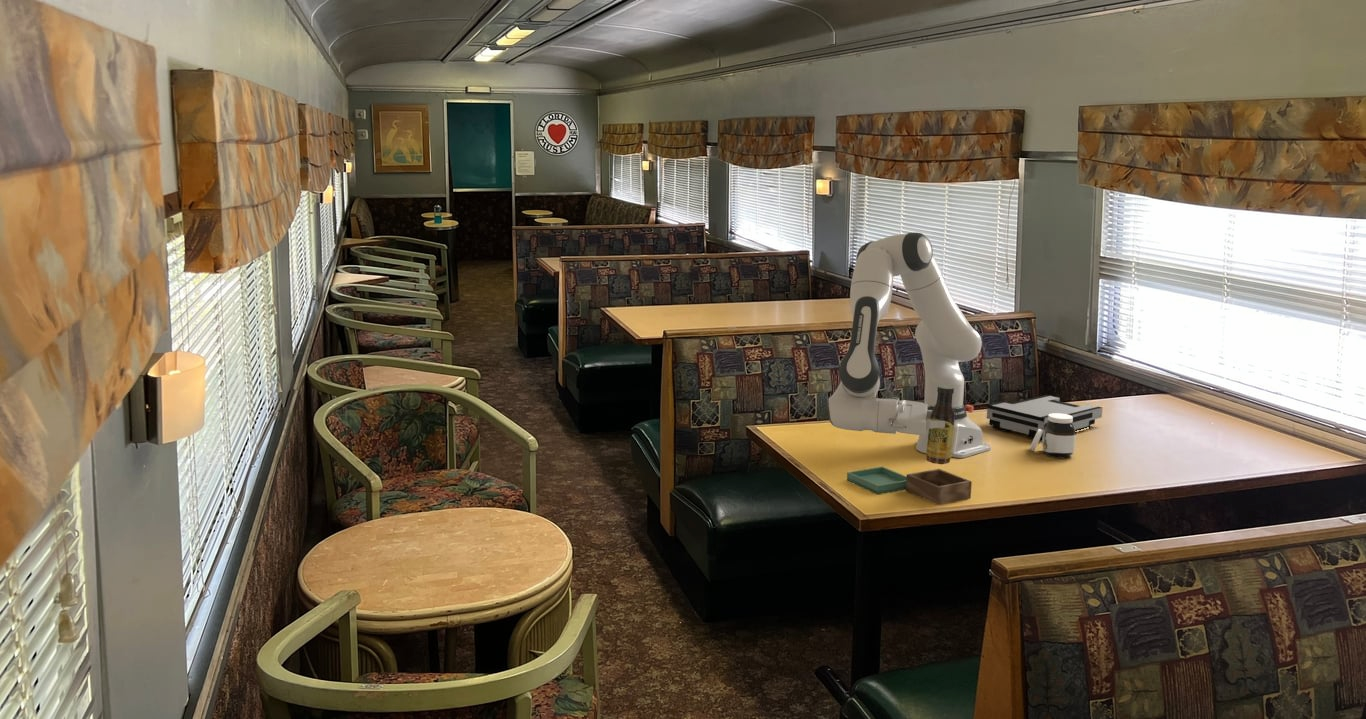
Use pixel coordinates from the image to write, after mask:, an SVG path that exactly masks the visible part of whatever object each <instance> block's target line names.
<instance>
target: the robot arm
mask: <svg viewBox="0 0 1366 719" xmlns="http://www.w3.org/2000/svg"><path fill="white" fill-rule="evenodd" d="M933 251H934V249H933V245H932V243H931V241H930V239H929V238H928V237H927V236H926V235H925V234H923V233H921V232H907V233H903V234H894V235H890V236H888V237H884V238H880V239H877V240H875V241H874V240H873V241H868V242H866V243H865V244H863V245H862V246H860V248H859V249H858V251H857V253H856V260H855V261H856V262H855V265H854V268H853V272H852V277H851V283H850V284H851V285H850V291H849V292H850V293H849V303H850V304H849V305H850V311H851V314H852V326H851V327H852V328H851V336H850V342H849V347H848V350H847V352H846V353H845V355H844V357H843V359H842V360H841V362H840V365H839V368H838V376H839V379H840V383H839V384H838V386H837V388H836V389H835V391H834V392H833V393H832V394H831V396H829V397H828V399H827V401H826V402H827V403H826V406H827V409H826V410H827V415H828V420H829V422H830V424H831V425H832V426H833V427H835V428H838V429H842V430H848V431H854V432H862V431H871V432H874V433H879V434H880V433H881V434H882V433H883V434H891V435H892V434H893V435H894V434H895V435H896V433H900V434H906V435H916V436H917V435H918V439H917V443H916V446H915V448H916V450H917V451H919V452H920V453H924V454H926V452H927V442H928V433H929V429H932V428H944V427H945V420H939V419H938V420H931V419H930V417H931V413H932V410H933V408H934V407H935V405H936V403H937V396H938V392H937V389H938V386H940V385H947V386H951V387H953V388H954V393H953V396H952V408H953V410H954V412H955V421H954V424H955V425H954V434H953V443H952V453H951V458H952V457H953V458H959V459H964V458H968V457H970V456H974V455H978V454H981V453H985V452H988V451H991V446H990V444H988V443H986V442H985V441H984V435H983V430H982V428H981V427H980V426H979V425H977V424H976V422H975V421H973V420H971V418H969V417H968V415H967V412H969V413H973V412H974V409H975V407H974V406H973V405H970V404H966V405H965V404H964V392H965V390H964V389H965V377H964V375H963V373H962V371H961V368H960V365H959V363H960V362H961V363H963V362H964V363H965V362H970V361H973V360H974V359H976V358H977V357H978V355H979V354H980V352H981V349H982V346H983V345H982V344H983V342H982V337H981V335H980V334H979V333H978V331H977V330H976V329H975V328H973V326H972V325H971V324H970V323H969V321H968V320H967V318H966V316H965V314H964V313H963V312H962V310H961V309H960V307H959V306H958V304H957V303H956V302H955V299H954V298H953V296H952V294H951V292H950V289H949V287H948V284H947V282H946V280H945V277H944V275H943V273H942V271H941V267H940V266H939V264H938V262H937V260H936V258H935V257H934V256H933V254H934V252H933ZM898 276H900V279H901V281H902V283H903V284H902V285H903V287H904V289H905V291H906V294H907V296H908V299H909V300H910V304H911V305H912V308H913V310H914V312H915V314H916V315H917V316H919V318H920V319H921V320H920V322H918V324H917V326H916V328H915V332H914V335H915V336H914V337H915V340H916V342H917V344H918V346H919V348H920V352H921V356H922V357H921V358H922V363H923V366H924V367H923V368H924V376H925V377H924V378H925V380H924V382H925V383H924V385H925V386H924V401H923V402H921V401H914V400H906V399H901V400H900V398H899V397H890V398H879V397H878V398H877V395H878V392H879V390H880V386H881V380H880V365H879V362H878V360H877V357H876V355H875V346H876V339H877V330H878V325H879V321H880V320H882V319H883V318H885V317H886V316H887V314H888V312H889V309H890V306H891V302H892V297H893V287H894V286H893V285H894V277H898Z"/></svg>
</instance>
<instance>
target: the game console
mask: <svg viewBox="0 0 1366 719" xmlns="http://www.w3.org/2000/svg"><path fill="white" fill-rule="evenodd" d="M986 408H987V409H986V419H987V420H989V421H988V422H989V425H991V426H992V429H994V428H995V430H999V431H1003V432H1006V433H1010V432H1017V433H1020V434H1021V433H1022V434H1025V435H1027V438H1030V439H1033V438H1034V437H1035V435H1036V433H1037V431H1038V429H1041V430H1043V427H1044V425H1045V423H1046V422H1047V421H1048V415H1049V414H1052V413H1061V414H1067V415H1071V416H1072V417H1073V422H1072V424H1073V426H1074V429H1075V431H1077V430H1081V429H1084V428H1087V427H1090V428H1091V425H1095V424H1096V423H1095V422H1096V420H1097V419H1100V418H1103V407H1101V406H1098V405H1093V404H1089V403H1088V404H1084V405H1078V404H1072V403H1069V402H1064V401H1061V399H1060V397H1057V396H1053V395H1049V394H1048V395H1047V394H1044V395H1039V396H1037V397H1036V396H1035V397H1032V398H1027V399H1023V400H1019V401H1014V402H1010V403H1008V402H1004V401H997V402H993V403H988V404H987V407H986ZM1042 437H1043V433H1042V435H1041V438H1040V440H1039V441H1041V440H1042Z"/></svg>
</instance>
